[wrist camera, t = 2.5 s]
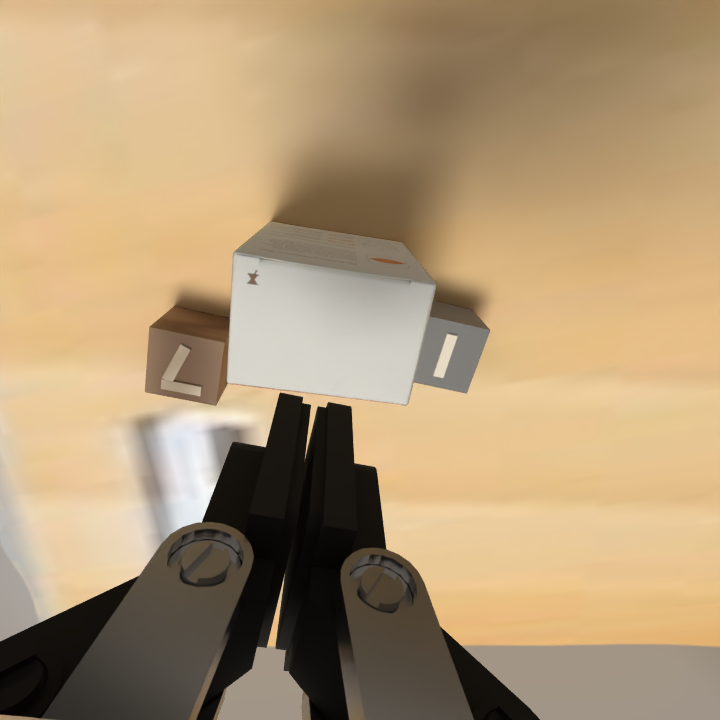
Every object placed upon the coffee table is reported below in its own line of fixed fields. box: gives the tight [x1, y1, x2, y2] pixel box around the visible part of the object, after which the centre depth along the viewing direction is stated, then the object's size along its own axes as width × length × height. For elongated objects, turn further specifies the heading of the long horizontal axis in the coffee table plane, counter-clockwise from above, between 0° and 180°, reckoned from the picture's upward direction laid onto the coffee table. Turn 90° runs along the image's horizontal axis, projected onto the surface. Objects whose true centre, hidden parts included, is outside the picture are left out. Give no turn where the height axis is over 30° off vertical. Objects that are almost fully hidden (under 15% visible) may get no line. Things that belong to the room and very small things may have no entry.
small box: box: [227, 222, 436, 405], centre depth 23 cm, size 8×6×10 cm
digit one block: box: [414, 300, 490, 393], centre depth 28 cm, size 4×4×4 cm
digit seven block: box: [145, 306, 230, 406], centre depth 28 cm, size 4×4×4 cm
